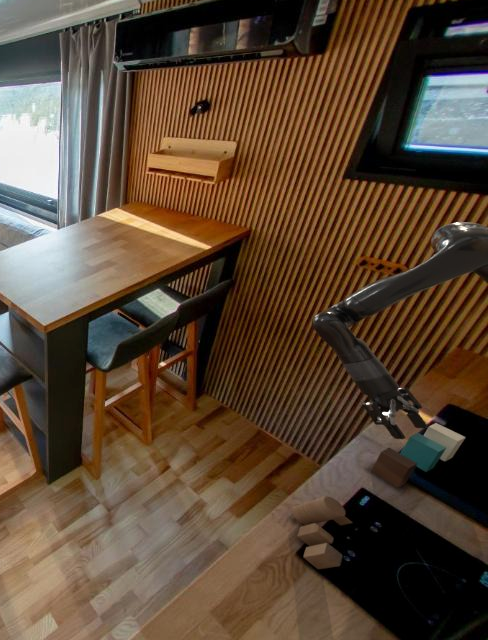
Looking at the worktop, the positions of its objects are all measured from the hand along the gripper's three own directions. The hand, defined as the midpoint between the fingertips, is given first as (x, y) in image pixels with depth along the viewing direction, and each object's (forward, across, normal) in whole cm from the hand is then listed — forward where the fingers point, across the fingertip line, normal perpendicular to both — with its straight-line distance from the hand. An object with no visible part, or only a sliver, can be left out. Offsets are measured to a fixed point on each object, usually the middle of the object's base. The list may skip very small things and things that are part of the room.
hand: (411, 433), depth 96 cm
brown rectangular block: (+8, -11, +4) cm, 14 cm away
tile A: (+8, +8, +4) cm, 11 cm away
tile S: (+8, 0, +4) cm, 9 cm away
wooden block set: (+10, -42, +2) cm, 43 cm away
